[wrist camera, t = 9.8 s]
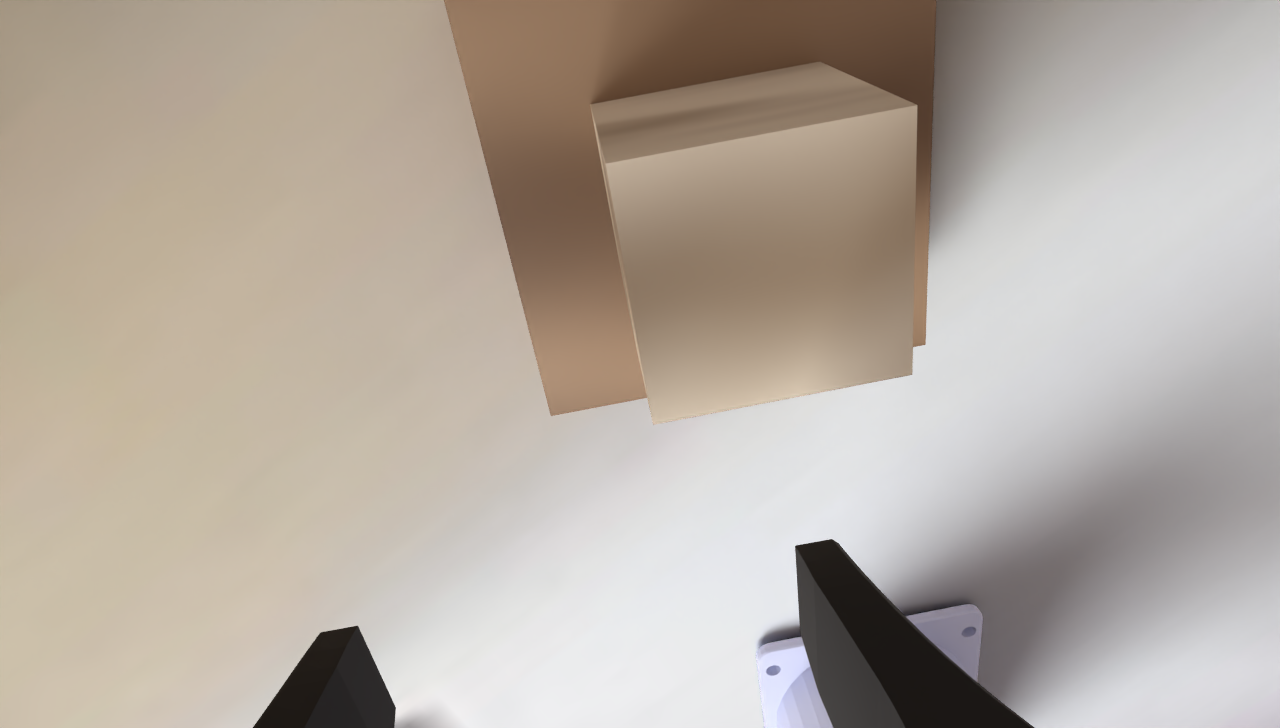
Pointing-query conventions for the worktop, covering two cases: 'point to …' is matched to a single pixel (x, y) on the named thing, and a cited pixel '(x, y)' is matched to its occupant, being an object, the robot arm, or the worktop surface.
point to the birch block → (763, 235)
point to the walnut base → (625, 67)
